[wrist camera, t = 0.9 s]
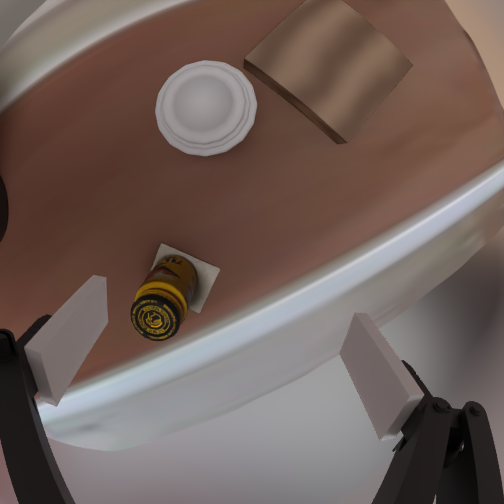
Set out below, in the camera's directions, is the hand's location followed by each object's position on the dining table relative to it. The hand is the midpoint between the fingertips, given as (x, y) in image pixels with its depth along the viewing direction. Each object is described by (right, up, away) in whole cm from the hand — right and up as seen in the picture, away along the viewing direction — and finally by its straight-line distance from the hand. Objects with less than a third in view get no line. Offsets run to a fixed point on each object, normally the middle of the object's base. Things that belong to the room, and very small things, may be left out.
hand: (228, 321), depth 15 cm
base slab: (+11, +27, +17) cm, 34 cm away
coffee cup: (-3, +19, +19) cm, 27 cm away
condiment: (-8, 0, +25) cm, 26 cm away
